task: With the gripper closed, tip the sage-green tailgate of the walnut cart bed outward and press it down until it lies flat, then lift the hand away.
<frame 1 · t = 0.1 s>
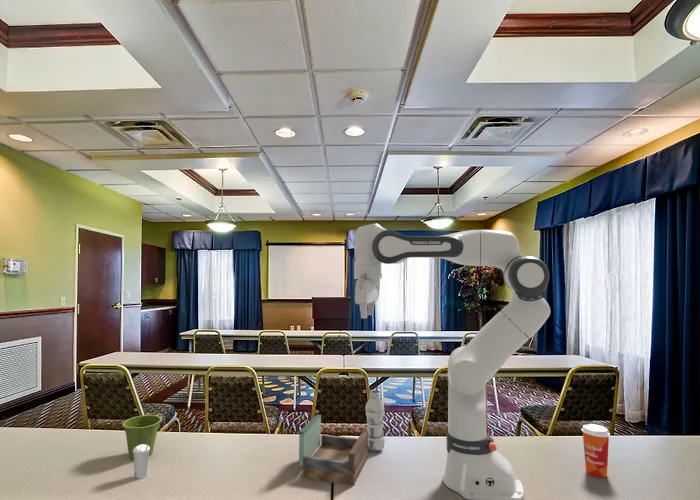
hand: (367, 316, 131), 48 cm above the table, tool pointing down, fingers open, 8 cm apart
plant pot: (141, 455, 137), on the table
paper cup: (596, 474, 126), on the table
tailgate: (310, 438, 132), point 8 cm above the table, hinge at 0.0°
plastic bottle: (374, 450, 142), on the table
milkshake: (141, 477, 122), on the table
cart bed: (336, 467, 129), on the table
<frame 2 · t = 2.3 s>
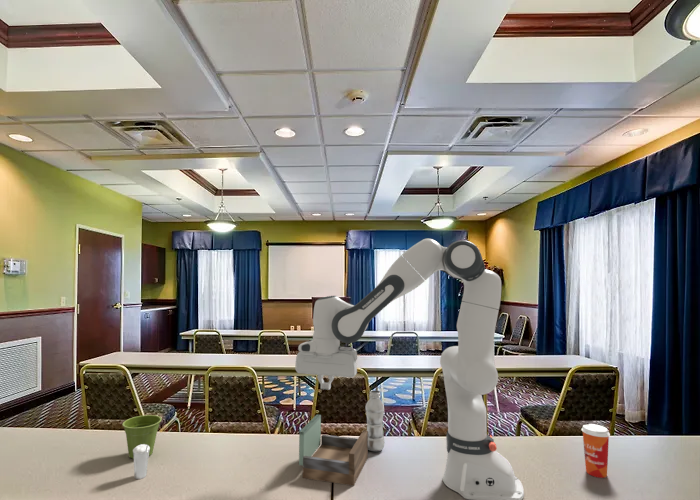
hand: (325, 388, 131), 24 cm above the table, tool pointing down, fingers closed
nothing on the table moved.
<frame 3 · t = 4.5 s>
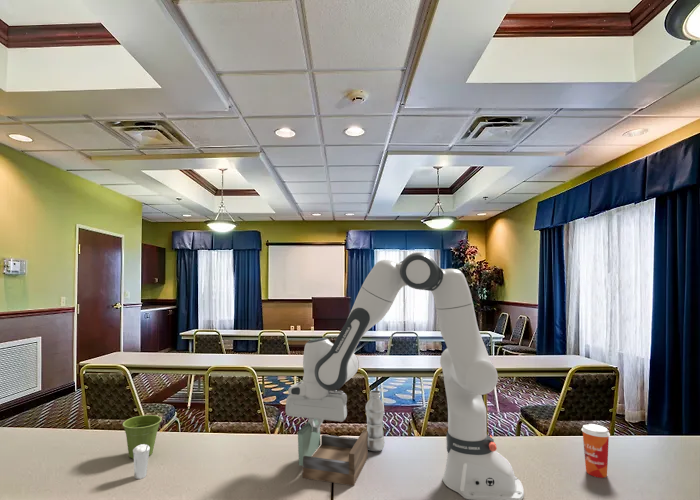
hand: (315, 431, 131), 10 cm above the table, tool pointing down, fingers closed
tailgate: (309, 438, 132), point 8 cm above the table, hinge at 3.2°, touching gripper
everything else where it was.
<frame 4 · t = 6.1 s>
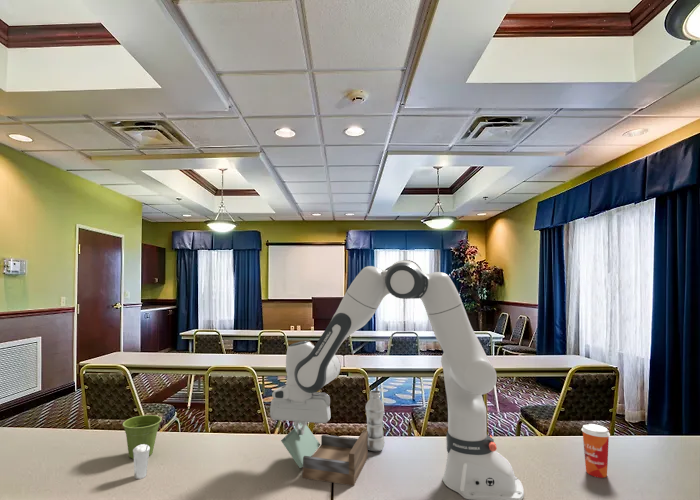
hand: (300, 434, 133), 9 cm above the table, tool pointing down, fingers closed
tailgate: (301, 442, 133), point 6 cm above the table, hinge at 40.6°, touching gripper
everything else where it was.
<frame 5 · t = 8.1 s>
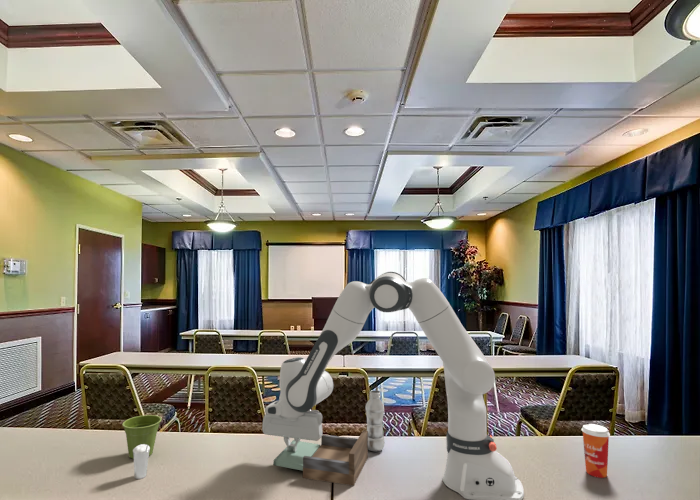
hand: (292, 450, 133), 3 cm above the table, tool pointing down, fingers closed
tailgate: (298, 454, 133), point 2 cm above the table, hinge at 87.6°
everything else where it was.
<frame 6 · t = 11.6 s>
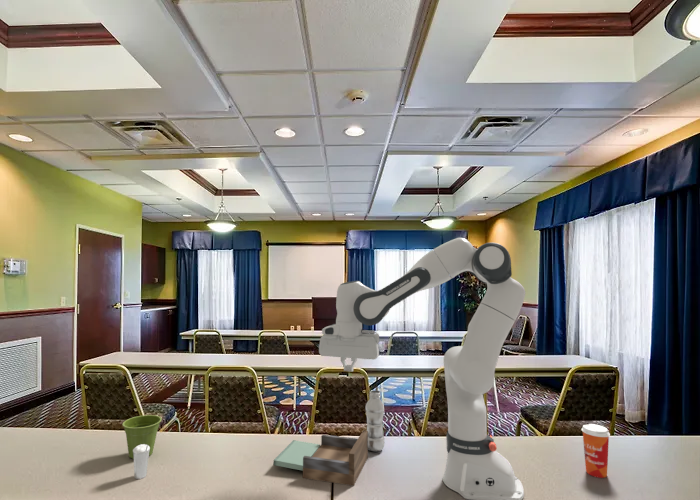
hand: (348, 370, 136), 29 cm above the table, tool pointing down, fingers closed
nothing on the table moved.
at the end: tailgate at +88° (first picture: +0°); plastic bottle moved 0.2 cm from its start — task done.
